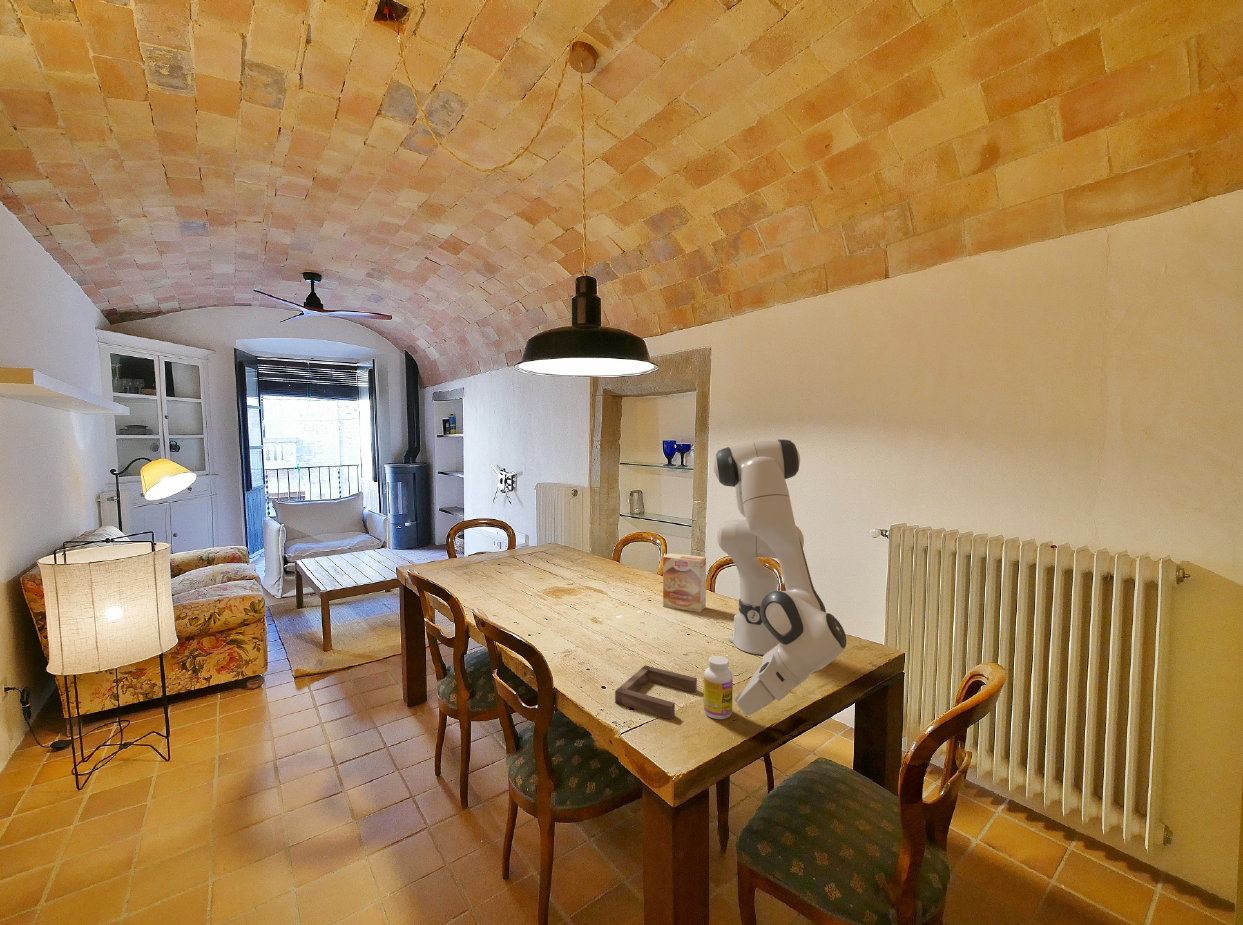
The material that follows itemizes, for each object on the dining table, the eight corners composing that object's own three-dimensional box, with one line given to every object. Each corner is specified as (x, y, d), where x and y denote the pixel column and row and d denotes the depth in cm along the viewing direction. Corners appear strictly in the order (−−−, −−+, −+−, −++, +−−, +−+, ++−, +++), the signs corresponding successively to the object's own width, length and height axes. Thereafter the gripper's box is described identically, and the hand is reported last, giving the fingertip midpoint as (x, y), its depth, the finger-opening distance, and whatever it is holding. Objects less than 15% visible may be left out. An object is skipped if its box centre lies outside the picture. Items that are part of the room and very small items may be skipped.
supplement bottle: (722, 724, 117) (723, 669, 117) (698, 713, 122) (698, 660, 121) (737, 712, 122) (738, 659, 122) (713, 702, 127) (713, 651, 126)
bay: (645, 676, 141) (645, 665, 140) (696, 689, 133) (696, 678, 133) (615, 702, 127) (615, 690, 127) (671, 719, 119) (671, 706, 119)
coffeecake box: (662, 607, 196) (662, 556, 195) (669, 601, 203) (669, 552, 202) (700, 613, 190) (700, 560, 189) (706, 607, 196) (706, 556, 195)
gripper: (782, 640, 124) (742, 670, 129) (760, 675, 106) (714, 708, 112) (801, 662, 122) (760, 692, 127) (782, 701, 104) (734, 734, 110)
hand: (738, 700), depth 119 cm, fingers closed
